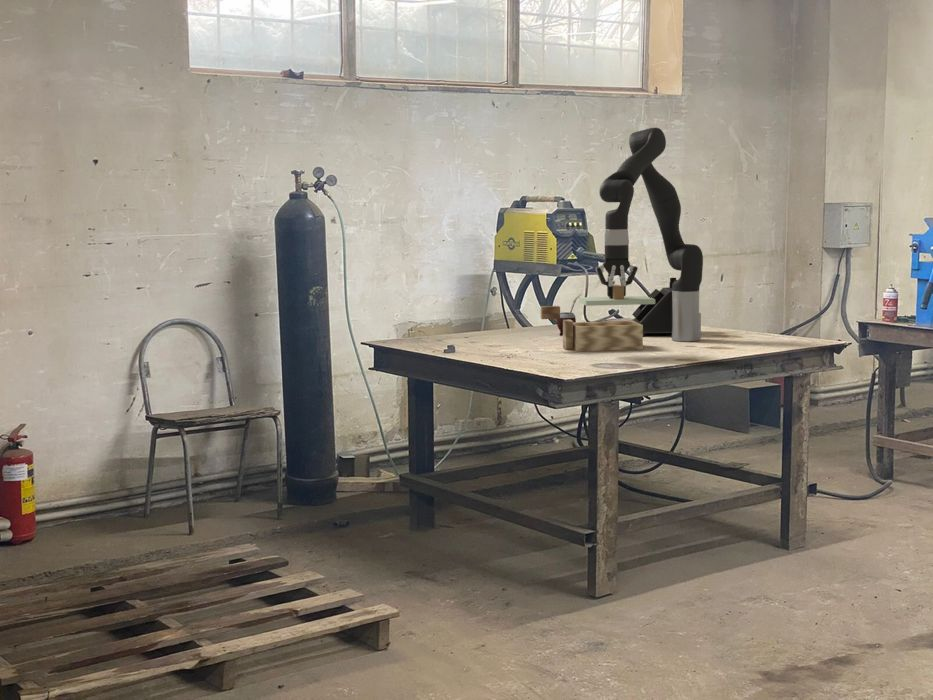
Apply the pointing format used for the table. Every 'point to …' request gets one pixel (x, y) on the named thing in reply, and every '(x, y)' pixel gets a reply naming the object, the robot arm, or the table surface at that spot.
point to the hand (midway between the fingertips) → (616, 297)
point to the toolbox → (602, 336)
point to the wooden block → (550, 312)
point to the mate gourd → (566, 317)
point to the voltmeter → (656, 311)
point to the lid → (616, 299)
